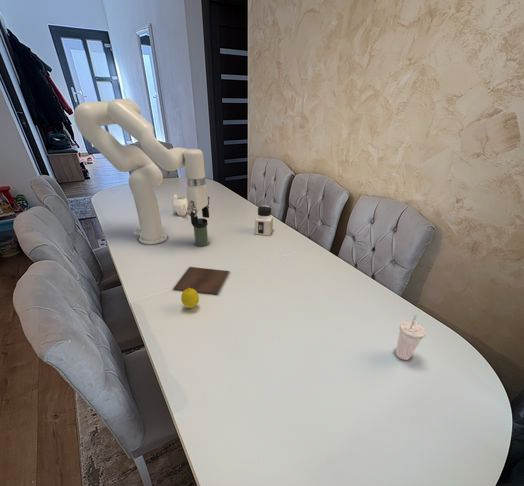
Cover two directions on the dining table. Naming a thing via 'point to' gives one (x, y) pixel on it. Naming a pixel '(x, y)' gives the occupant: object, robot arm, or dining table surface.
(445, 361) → the dining table surface
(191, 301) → the fruit
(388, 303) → the dining table surface
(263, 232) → the container
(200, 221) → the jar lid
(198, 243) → the jar
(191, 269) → the placemat
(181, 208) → the teapot
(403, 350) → the smoothie
